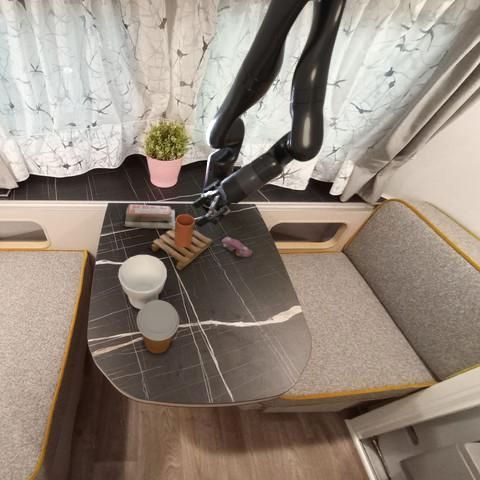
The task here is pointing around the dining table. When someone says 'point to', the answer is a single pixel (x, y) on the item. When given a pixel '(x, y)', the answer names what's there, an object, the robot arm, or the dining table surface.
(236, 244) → the pink oblong lump
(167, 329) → the disposable coffee cup
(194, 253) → the wooden slatted trivet
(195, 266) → the dining table surface
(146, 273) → the cup
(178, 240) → the tumbler
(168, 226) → the packaged product
